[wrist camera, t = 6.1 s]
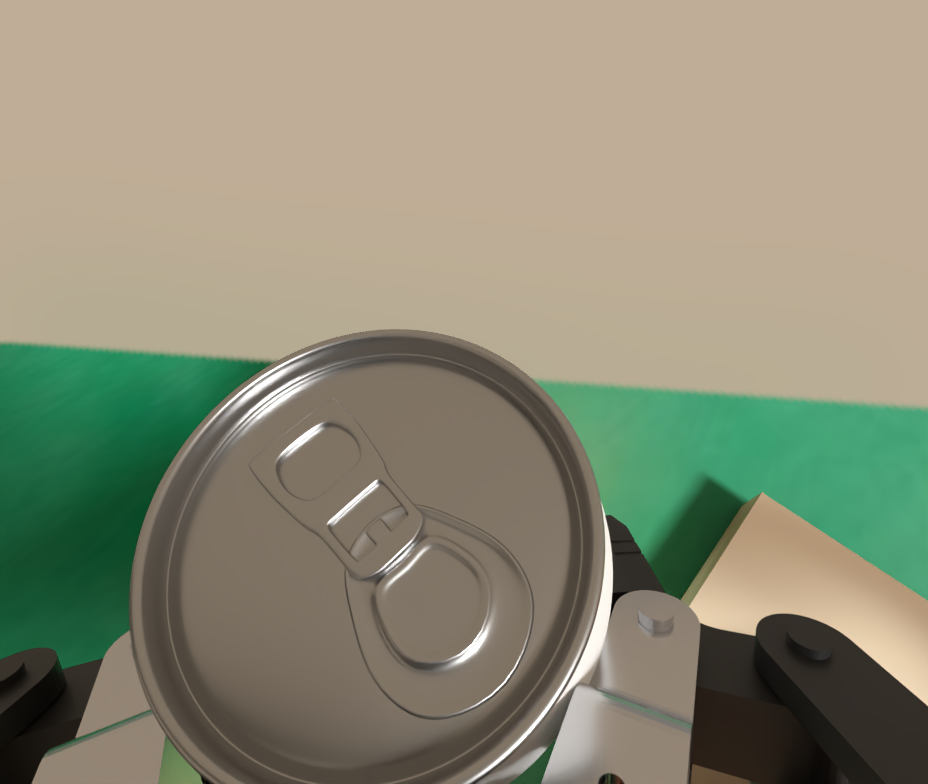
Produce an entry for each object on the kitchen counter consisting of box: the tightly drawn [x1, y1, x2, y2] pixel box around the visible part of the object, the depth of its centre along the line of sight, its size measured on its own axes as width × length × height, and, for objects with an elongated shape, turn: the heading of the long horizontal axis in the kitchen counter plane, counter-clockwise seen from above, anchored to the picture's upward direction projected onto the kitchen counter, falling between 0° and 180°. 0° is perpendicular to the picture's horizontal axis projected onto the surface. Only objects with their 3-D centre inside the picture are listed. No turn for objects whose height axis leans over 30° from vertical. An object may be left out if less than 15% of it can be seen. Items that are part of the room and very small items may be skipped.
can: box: [129, 329, 613, 784], centre depth 11 cm, size 6×6×12 cm
